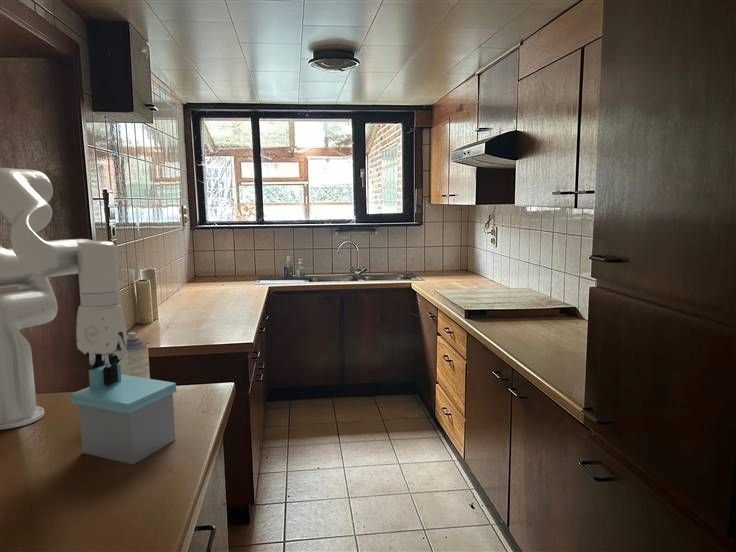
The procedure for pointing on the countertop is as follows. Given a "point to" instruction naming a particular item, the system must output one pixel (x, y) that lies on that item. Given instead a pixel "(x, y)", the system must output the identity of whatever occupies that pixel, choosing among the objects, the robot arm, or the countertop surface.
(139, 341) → the aerosol can
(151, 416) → the tub
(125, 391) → the lid
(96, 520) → the countertop surface
